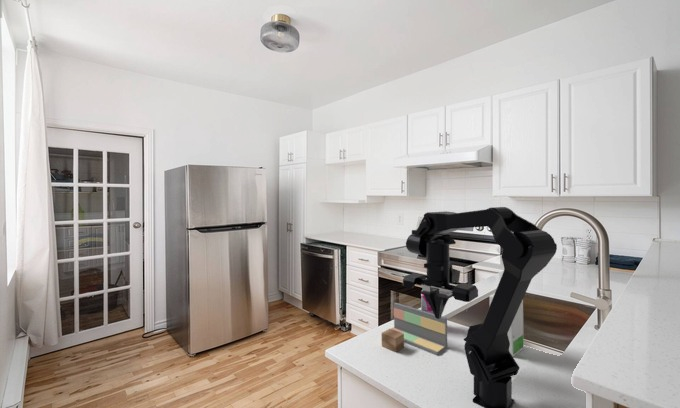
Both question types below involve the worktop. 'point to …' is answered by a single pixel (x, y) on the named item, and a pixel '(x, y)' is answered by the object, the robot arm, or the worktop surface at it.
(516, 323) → the skincare box
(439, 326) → the tuner gauge
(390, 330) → the block
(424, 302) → the supplement box
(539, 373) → the worktop surface
